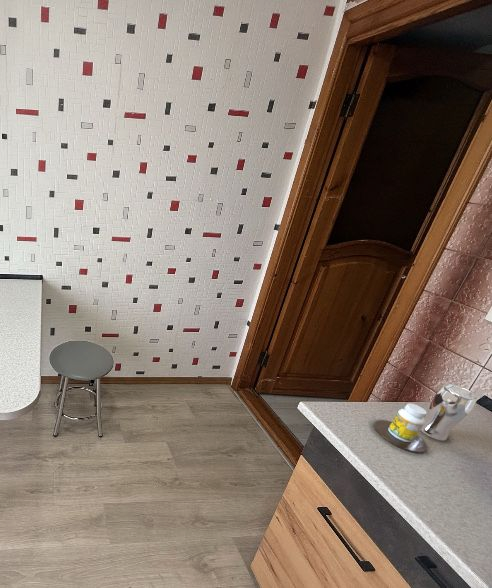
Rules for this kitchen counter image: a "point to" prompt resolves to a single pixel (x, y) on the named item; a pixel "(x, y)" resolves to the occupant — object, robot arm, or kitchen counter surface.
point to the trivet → (413, 446)
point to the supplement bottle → (408, 422)
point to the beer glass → (447, 410)
